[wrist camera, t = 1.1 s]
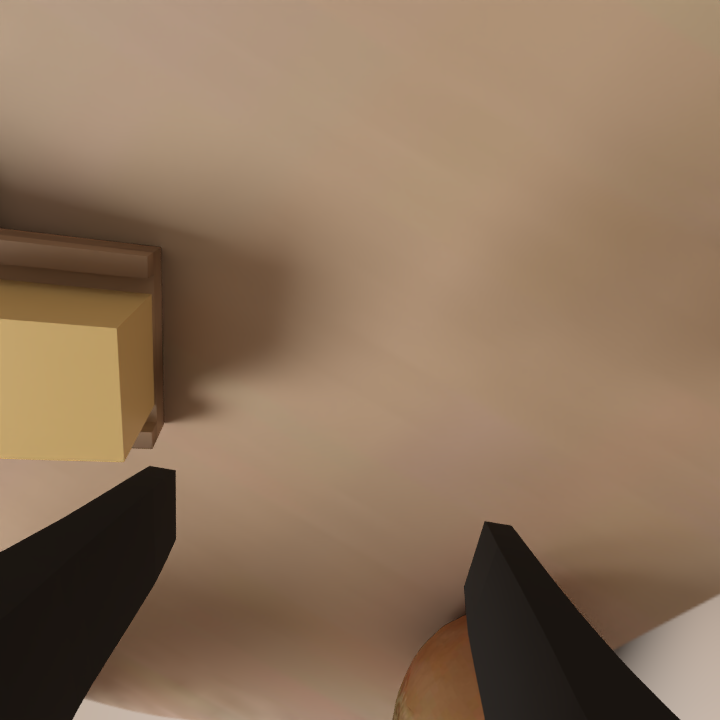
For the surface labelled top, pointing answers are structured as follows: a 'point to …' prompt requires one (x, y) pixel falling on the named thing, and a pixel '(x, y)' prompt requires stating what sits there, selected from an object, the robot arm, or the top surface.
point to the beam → (93, 284)
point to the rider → (73, 371)
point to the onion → (441, 679)
